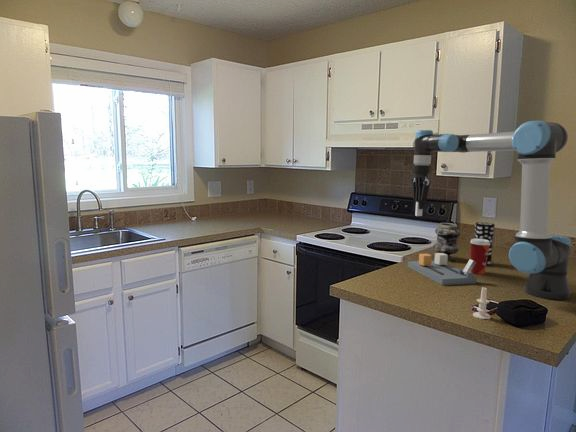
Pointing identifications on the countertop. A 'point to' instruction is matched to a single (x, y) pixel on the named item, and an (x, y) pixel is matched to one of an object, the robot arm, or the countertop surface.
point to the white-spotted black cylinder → (485, 236)
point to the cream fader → (441, 258)
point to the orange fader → (425, 259)
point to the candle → (482, 306)
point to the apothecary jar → (447, 239)
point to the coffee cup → (479, 255)
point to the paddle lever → (469, 266)
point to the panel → (443, 273)
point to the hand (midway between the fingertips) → (418, 215)
